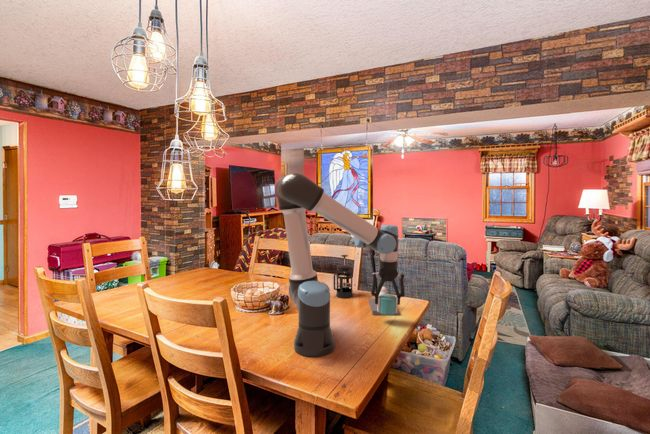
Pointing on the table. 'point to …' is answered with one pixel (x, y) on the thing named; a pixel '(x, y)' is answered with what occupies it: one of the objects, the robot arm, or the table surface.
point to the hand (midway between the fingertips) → (387, 311)
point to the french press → (344, 288)
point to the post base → (374, 306)
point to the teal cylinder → (387, 304)
